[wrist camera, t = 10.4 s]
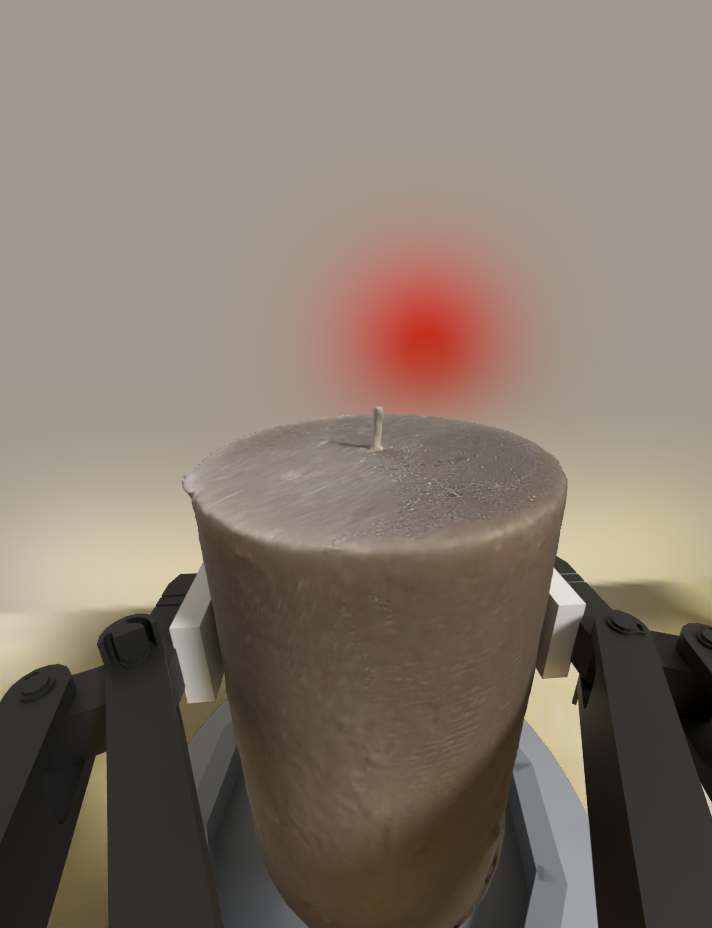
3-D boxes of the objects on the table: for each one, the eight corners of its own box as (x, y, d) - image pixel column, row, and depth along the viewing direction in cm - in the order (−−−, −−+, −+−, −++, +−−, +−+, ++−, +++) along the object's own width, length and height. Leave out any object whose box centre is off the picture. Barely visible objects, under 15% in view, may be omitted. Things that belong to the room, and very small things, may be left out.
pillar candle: (563, 833, 13) (686, 418, 8) (302, 1077, 9) (205, 540, 4) (404, 642, 21) (414, 371, 16) (226, 725, 17) (161, 394, 12)
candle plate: (-68, 1284, 9) (-122, 1269, 8) (242, 639, 28) (238, 609, 27) (840, 1554, 7) (920, 1579, 6) (526, 664, 26) (533, 633, 25)
